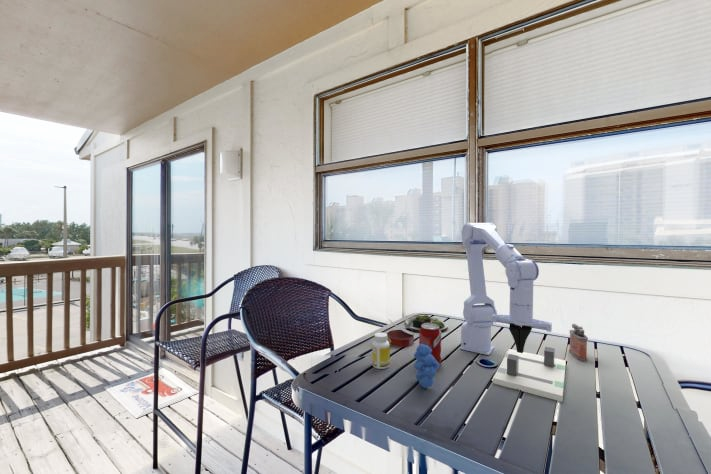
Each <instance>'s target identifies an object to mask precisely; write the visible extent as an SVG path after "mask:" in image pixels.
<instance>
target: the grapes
mask: <svg viewBox="0 0 711 474" xmlns="http://www.w3.org/2000/svg"><path fill="white" fill-rule="evenodd" d="M431 352H432V350H431V348H430V347H429V346H427V345H424V344H420V345H419V344H418V345H417V347H416V349H415V353H414V354H413V357H414V358H415V359H416V361H415V362H414V364H413V368H414V369H415V370H416V371H417V373H416V374H415V376H414V377H415V379H416V380H417V381H419V382H418V384H419V385H420V386H421V387H422V388H423V389H427V388H431V387H432V386H433V385H434V383H435V382H436V381H435V379H434V377H435V376H436V374H437V370H439V369H438V368H439V367H440V365H441V364H439V363H438V362H437V361H436V359H435V358H434V357H433V355H431Z"/></svg>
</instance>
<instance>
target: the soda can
mask: <svg viewBox="0 0 711 474" xmlns="http://www.w3.org/2000/svg"><path fill="white" fill-rule="evenodd" d="M420 344H424V345H427V346H429V347H430V348H431V350H432V352H431V355H433V357H434V358H435V359H436V361H437V362H438V363H439V364H440V365H441V364H442V332H441V331H440V329H439V325H437V324H433V323H432V322H431V323H424V324H422V325H421V328H420V330H419V332H418V346H419V345H420Z"/></svg>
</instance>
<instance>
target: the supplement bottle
mask: <svg viewBox="0 0 711 474" xmlns="http://www.w3.org/2000/svg"><path fill="white" fill-rule="evenodd" d="M373 337H374V338H373V339H374V340H373V341H372V343H371V344H372V345H371V348H372V349H371V351H372V354H371V356H372V357H371V361H372V364H371V365H372V366H373V368H375V369H379V370H384V369H388V368H389V367H390V365H391V364H390V361H391V359H390V355H391V354H390V351H391V350H390V344H389V342H388V341H387V333H386V332H380V331H379V332H376V333H374V336H373Z"/></svg>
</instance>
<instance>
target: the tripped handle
mask: <svg viewBox="0 0 711 474" xmlns="http://www.w3.org/2000/svg"><path fill="white" fill-rule="evenodd" d="M518 365H519V356H516V355H512V354H509V356H508V358H507V374H510V375H514V376H517V373H518Z"/></svg>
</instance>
